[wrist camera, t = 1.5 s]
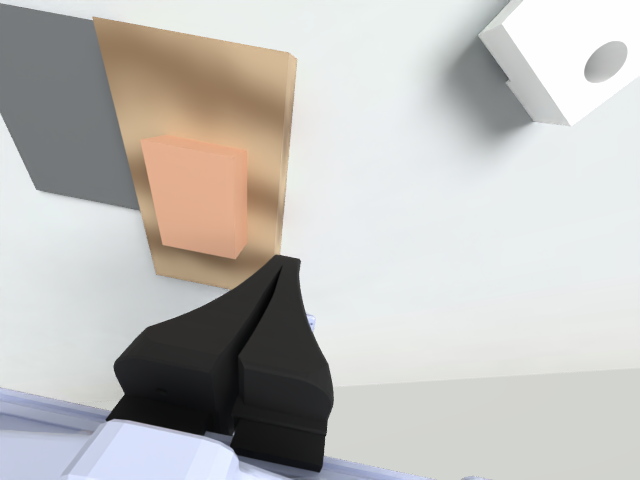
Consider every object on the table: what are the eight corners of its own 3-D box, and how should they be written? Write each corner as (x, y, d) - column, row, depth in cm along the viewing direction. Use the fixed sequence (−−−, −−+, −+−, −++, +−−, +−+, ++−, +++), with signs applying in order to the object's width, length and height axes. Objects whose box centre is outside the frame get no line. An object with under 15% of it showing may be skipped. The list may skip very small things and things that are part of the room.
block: (247, 243, 21) (235, 259, 19) (181, 230, 21) (162, 244, 19) (247, 150, 17) (232, 157, 15) (166, 134, 17) (140, 139, 15)
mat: (159, 211, 24) (155, 213, 23) (42, 188, 24) (36, 189, 23) (121, 26, 17) (115, 24, 16) (-46, -5, 17) (-57, -8, 16)
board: (277, 281, 27) (271, 297, 24) (171, 260, 27) (156, 274, 25) (297, 58, 16) (288, 52, 14) (125, 27, 17) (92, 16, 14)
